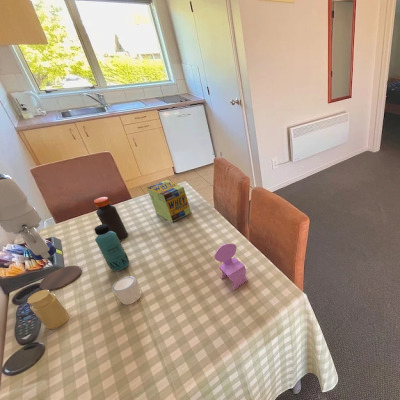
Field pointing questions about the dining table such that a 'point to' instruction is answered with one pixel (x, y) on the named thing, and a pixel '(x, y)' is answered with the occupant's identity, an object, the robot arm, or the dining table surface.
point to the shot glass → (127, 290)
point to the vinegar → (110, 217)
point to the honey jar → (48, 309)
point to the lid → (51, 251)
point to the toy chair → (231, 264)
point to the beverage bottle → (111, 248)
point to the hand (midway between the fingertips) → (44, 252)
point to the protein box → (169, 200)
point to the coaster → (60, 278)
